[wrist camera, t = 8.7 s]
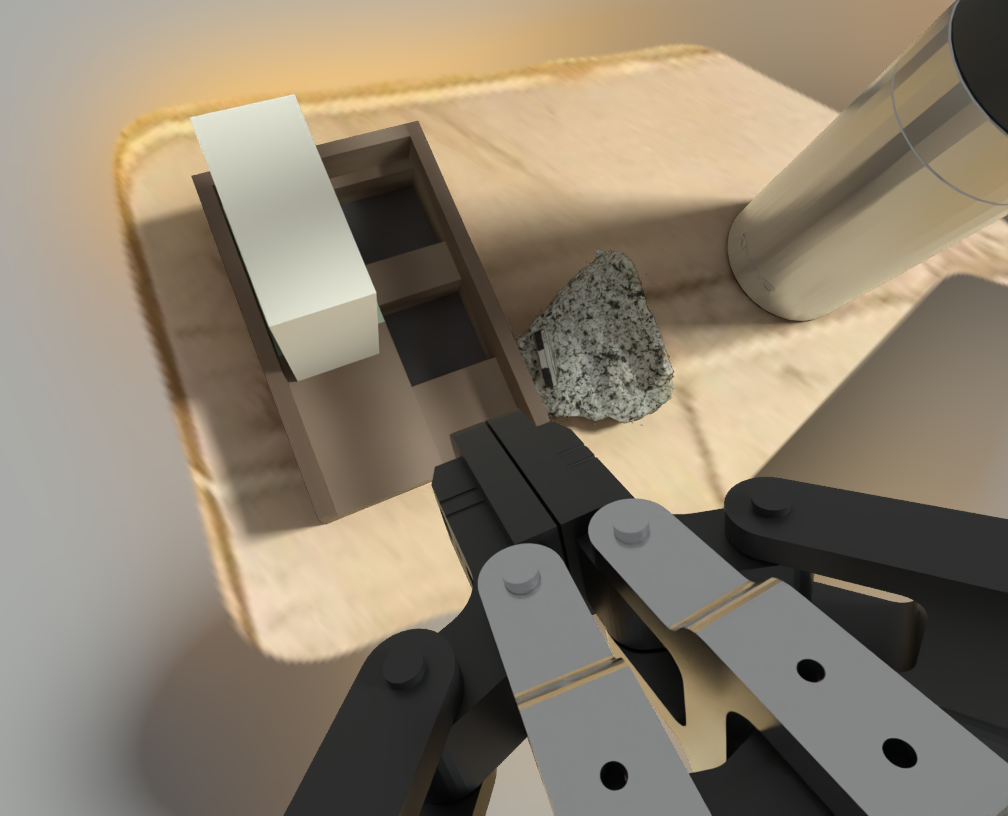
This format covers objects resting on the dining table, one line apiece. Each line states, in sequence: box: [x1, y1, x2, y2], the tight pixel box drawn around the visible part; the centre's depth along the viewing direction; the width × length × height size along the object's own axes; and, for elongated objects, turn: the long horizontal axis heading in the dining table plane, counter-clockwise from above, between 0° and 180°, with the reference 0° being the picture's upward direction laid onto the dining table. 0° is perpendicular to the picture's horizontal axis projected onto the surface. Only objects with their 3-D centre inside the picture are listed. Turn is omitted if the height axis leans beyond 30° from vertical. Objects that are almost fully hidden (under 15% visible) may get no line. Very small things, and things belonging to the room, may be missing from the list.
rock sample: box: [517, 249, 674, 432], centre depth 36 cm, size 10×8×9 cm
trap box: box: [191, 121, 550, 524], centre depth 34 cm, size 12×19×4 cm, turn 23°
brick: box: [190, 94, 379, 381], centre depth 30 cm, size 4×10×8 cm, turn 24°
